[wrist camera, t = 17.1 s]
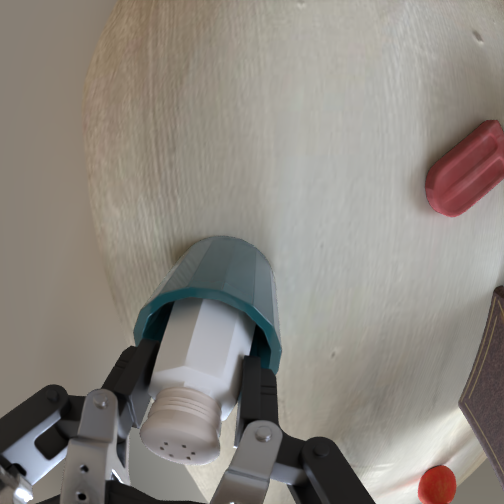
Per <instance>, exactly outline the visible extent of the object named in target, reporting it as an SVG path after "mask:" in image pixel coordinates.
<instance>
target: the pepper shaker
mask: <svg viewBox="0 0 504 504" xmlns="http://www.w3.org/2000/svg"><path fill="white" fill-rule="evenodd" d="M255 326H256V322H255V321H254V320H253V319H252V318H251V317H250V316H249V315H248V314H247V313H246V312H243V311H241V310H239V309H237V308H235V307H233V306H230V305H228V304H226V303H224V302H222V301H220V300H213V299H204V298H195V297H188V298H184V299H180V300H176V301H175V303H174V306H173V308H172V311H171V314H170V317H169V321H168V324H167V327H166V330H165V333H164V336H163V339H162V342H161V346H160V349H159V352H158V355H157V359H156V363H155V366H154V370H153V373H152V377H151V381H150V384H149V389H148V394H149V395H150V396H151V397H152V398H153V399H154V401H155V402H154V403H153V404H152V406H151V409H150V412H149V414H148V419H147V420H146V422H145V423H144V424H143V425H142V427H141V429H140V437H141V440H142V442H143V443H144V445H145V446H146V447H147V448H148V449H149V450H150V451H152V452H153V453H155V454H156V455H158V456H160V457H162V458H165V459H167V460H169V461H172V462H175V463H180V464H186V465H203V464H207V463H210V462H212V461H214V460H215V459H216V458H217V457H218V456H219V454H220V443H219V437H220V432H221V424H222V423H221V421H222V420H226V418H227V417H228V415H229V414H230V412H231V411H232V409H233V408H234V406H235V405H236V403H237V402H238V398H239V395H240V392H241V382H242V371H243V361H244V355H249V353H250V349H251V344H252V340H253V335H254V331H255Z"/></svg>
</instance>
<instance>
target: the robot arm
mask: <svg viewBox="0 0 504 504" xmlns="http://www.w3.org/2000/svg"><path fill="white" fill-rule="evenodd" d="M159 349H160V343H159V341H158V340H153V339H148V338H142V339H141V341H140V343H139V345H138V346H137V347H135V346H130V347H128V348H127V349H126V350H124V351H123V352H122V354H121V355H120V357H119V359H118V360H117V362H116V364H115V366H114V367H113V369H112V370H111V372H110V374H109V375H108V377H107V379H106V380H105V382H104V384H103V386H102V387H101V389H95V390H93V391H91V392H90V393H89V394H87V396H72V395H68V394H67V392H66V390H65V389H64V388H63V387H62V386H59V385H48V386H46V387H44V388H42V389H41V390H40V391H38V392H37V393H35V394H34V395H33V396H31V397H30V398H28V399H27V400H26V401H24V402H23V403H22V404H20V405H19V406H17V407H16V408H14V409H13V410H12V411H10V412H9V413H8V414H6V415H5V416H3V417H2V418H1V419H0V504H27V502H28V500H29V501H30V500H32V498H33V494H32V485H33V484H35V483H36V482H37V481H38V480H39V479H40V478H42V477H43V476H44V475H45V474H46V473H47V472H48V471H50V470H51V469H52V468H53V467H54V466H55V465H57V464H58V463H59V462H60V461H61V460H62V459H63V458H64V457H66V460H65V466H64V472H63V479H62V487H61V494H59V495H57V496H54V497H52V498H50V499H47V500H44V501H42V502H39V503H36V504H205V503H199V502H193V501H162V500H157V499H155V498H153V497H150V496H148V495H146V494H145V493H143V492H141V491H139V490H137V489H136V488H134V487H132V486H131V483H130V479H129V473H128V462H129V439H130V438H129V432H130V429H131V427H134V428H138V429H139V428H140V425H141V422H142V420H143V417H144V415H145V412H146V409H147V407H148V404H149V402H150V399H151V396H150V395H149V394H148V389H149V384H150V381H151V377H152V373H153V370H154V366H155V363H156V359H157V355H158V352H159ZM234 448H237V449H236V452H235V454H234V456H233V459H232V461H231V463H230V465H229V467H228V469H227V470H226V471H225V472H224V474H223V476H222V478H221V481H220V483H219V485H218V487H217V489H216V491H215V493H214V495H213V497H212V499H211V501H210V503H209V504H263V502H264V499H265V496H266V493H267V490H268V487H269V483H270V479H274V480H277V481H280V482H284V483H286V484H287V486H288V488H289V490H290V492H291V494H292V496H293V498H294V500H295V502H296V504H376V503H375V502H374V500H373V499H372V497H371V496H370V495H369V493H368V492H367V490H366V489H365V487H364V486H363V484H362V483H361V481H360V480H359V478H358V477H357V475H356V474H355V472H354V471H353V469H352V468H351V466H350V465H349V463H348V462H347V460H346V459H345V457H344V456H343V454H342V453H341V451H340V450H339V448H338V447H337V445H336V444H335V443H334V442H333V441H332V440H330V439H328V438H325V437H313V438H310V439H308V440H307V441H304V440H300V439H297V438H294V437H291V436H289V435H287V434H286V433H285V432H284V431H283V430H282V429H281V427H280V425H279V421H278V402H277V382H276V376H275V375H274V373H273V371H272V370H271V369H265V368H261V357H258V356H249V355H244V361H243V371H242V382H241V392H240V395H239V398H238V409H237V420H236V431H235V441H234Z"/></svg>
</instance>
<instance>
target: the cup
mask: <svg viewBox="0 0 504 504" xmlns="http://www.w3.org/2000/svg"><path fill="white" fill-rule="evenodd" d="M188 297H195V298H204V299H213V300H220V301H222V302H224V303H226V304H228V305H230V306H233V307H235V308H237V309H239V310H241V311H243V312H246V313H247V314H248V315H249V316H250V317H251V318H252V319H253V320H254V321H255V322H256V326H255V331H254V335H253V340H252V344H251V349H250V353H249V356H258V357H261V368H265V369H271V370H272V371H273V373H274V375H276V374H277V372H278V369H279V364H280V359H281V354H282V345H281V334H280V324H279V313H278V303H277V294H276V284H275V281H274V276H273V271H272V269H271V266H270V264H269V262H268V261H267V259H266V258H265V256H264V255H263V254H262V253H261V252H260V251H259V250H258V249H257V248H256V247H254V246H253V245H251V244H250V243H248V242H246V241H244V240H241V239H238V238H235V237H229V236H214V237H209V238H206V239H203V240H200V241H199V242H197V243H195V244H194V245H192V246H191V247H190V248H189V249H188V250H187V251H186V252H185V253H184V254H183V255H182V256H181V257H180V258H179V259H178V260H177V262H176V263H175V264H174V266H173V267H172V268H171V270H170V271H169V272H168V274H167V275H166V276H165V278H164V279H163V280H162V282H161V283H160V284H159V286H158V287H157V288H156V290H155V291H154V292H153V294H152V295H151V297H150V298H149V299H148V301H147V302H146V303H145V305H144V306H143V308H142V309H141V311H140V313H139V316H138V319H137V322H136V325H135V328H134V332H133V334H134V340H135V345H136V347H137V346H138V345H139V343H140V341H141V339H142V338H148V339H153V340H158V341H159V343H160V346H161V342H162V339H163V336H164V333H165V330H166V327H167V324H168V321H169V317H170V314H171V311H172V308H173V306H174V303H175V301H176V300H180V299H184V298H188Z"/></svg>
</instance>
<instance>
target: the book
mask: <svg viewBox="0 0 504 504" xmlns="http://www.w3.org/2000/svg"><path fill="white" fill-rule="evenodd" d="M458 403H459V407H460V409H461V411H462V412H463V414H464V416H465V417H466V419H467V421H468V423H469V424H470V426H471V428H472V430H473V431H474V433H475V435H476V437H477V438H478V440H479V442H480V444H481V446H482V448H483V450H484V452H485V453H486V455H487V457H488V459H489V461H490V463H491V465H492V467H493V469H494V471H495V473H496V476H497V478H498V480H499V482H500V484H501V486H502V489H503V491H504V286H499V287H497V288H496V289H495V290H494V293H493V298H492V302H491V307H490V311H489V315H488V319H487V323H486V327H485V330H484V334H483V337H482V341H481V344H480V347H479V350H478V353H477V356H476V359H475V362H474V365H473V368H472V370H471V373H470V375H469V378H468V381H467V383H466V386H465V388H464V390H463V393H462V395H461V397H460V399H459V402H458Z"/></svg>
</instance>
